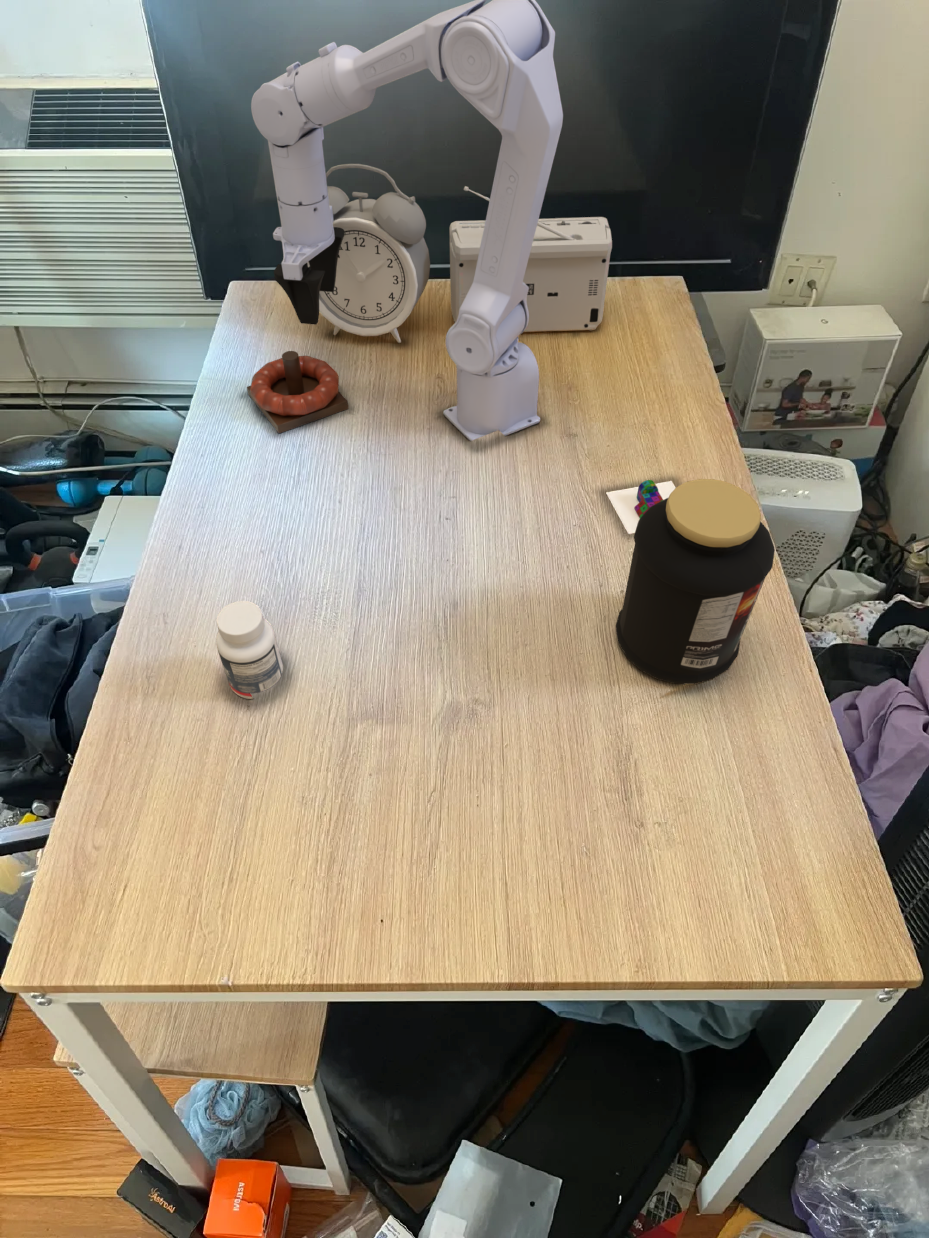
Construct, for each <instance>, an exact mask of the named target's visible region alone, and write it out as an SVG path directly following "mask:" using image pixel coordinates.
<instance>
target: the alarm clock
mask: <svg viewBox="0 0 929 1238" xmlns="http://www.w3.org/2000/svg"><path fill="white" fill-rule="evenodd" d="M342 169H362V170H367V171H371V172H374V173H376V174H377V173H378V174H380V175H381V176H384V177H385V178H386V179H387V181H389V182H390V184H391V185H392V187H393V189H394V191H395V192H393V191H390V192H386V193H383V194H381V196H379V197H378V198H377V199H373V198H369V193H368V192H358V191H352V193H351V195H352V197H353V198H358V199H354V200H352V201H350V197H349V196H348V195H347V194H346V192H345V191H343V189H341V188H339V187H337V186H333V185H332V186H329V185H327V190H328V197H329V206H332V211H333V220H334V221H333V227H339V228H342V229H344V232H345V235H344V238H343V240H342V243H341V246H340V250H339V254H338V260H337V269H336V281H335V287H334V291H333V292H326V291H320V293H319V314H321V316H323V317H324V318H325V319H326V320H327V321H329V323H331V324H332V325H333V326H334V329H333V332H332V333H333V335H334V336H336V335H338V333H339V332H340V330H343V331H345V332H347V333H349V334H353V335H357V336H360V337H378V336H382V335H385V334H389V333H390V334H391V336H392V337H393V338H394V339H395V340H396V342H397V343H398V344H400V343H402V340H401V337H400V334H399V331H398V328H399V327H400V326H402V325H403V324H404V323H405V322H406V320H407V318H408V317H409V316H410V315H411V314H412V312H413V311H414V308H415V307H416V305H417V303H418V302H419V300H420V298H421V296H422V295H423V293H424V291H425V288H426V286H427V284H428V282H429V278H430V271H431V260H430V251H429V248H428V245H427V243H426V240H425V238H424V236H425V233H426V229H427V219H426V217H425V214H424V211H423V210H422V208H421V207H420V205H419V204H418V203H417V202H416V197H415V195H414V196H409V195H406V194H405V193H403V192H402V191H401V190H400V189H399V187H398V186H397V184H396V182H395V180H394V178H392V176H391V175H390V174H389V173H388V172H387V171H385V170H383V169H381V168H378V167H374V166H372V165H367V164H361V163H344V164H338V165H335V166H331V167H330V168H329V169H328V171H327V172H325V173H326V180H327V179H328V177H329V176H330V175H331V174H332V172H334V171H338V170H342ZM307 264H308V267H310V265H309V262H307Z"/></svg>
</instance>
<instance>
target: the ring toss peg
mask: <svg viewBox="0 0 929 1238" xmlns="http://www.w3.org/2000/svg"><path fill="white" fill-rule="evenodd" d="M299 356H300V355H299V353H298V352H297V351H295V350H288V351H285V352H283V353H282V354H281V358H282V360H283V366H284V372H285V377H286V378H283V379H280V380H278V381H276V382H275V383H274V384H273V385H272V386H271V390H272V391H273V392H275V393H278V394H282V395H301V394H303V393H306V392H309V391H312V390H314V389H315V388H316V387H317V386H318V385H319V381H318V380H317V379H316V378H312V377H309V376H306V375H302V374H301V367H300V361H299ZM250 389H251V385H248V386H246V391H247V395H248V396H249V398H250V399H251V401H252V402H253V403H254V404H255V405H256V407H257V408H258V409H259V410H260V411H261V413H262V414H263V415H264V417H265V418H266V419H267V420H268V422H269V423H270V424H271V425H272V427H273V428H274V429H275V431H276V432H277V433H278V434H282V433H285V432H288V431H291V430H293V429H296V428H299V427H301V426H305V425H308V424H310V423H312V422H315V421H318V420H321V419H324V418H327V417H329V416H332V415H335V414H337V413H340V412H343V411H346V410H349V403H348V402H349V401H348V399H347V398H345V396H344V395H343V394H342V392H340V391H339V390H338V393H337V395H336V396H335V397H334V398H333V399H332V400H331V401H330V402H329V403H328V404H327V405H326V406H325V407H324V408H322V409H319V410H316V411H314V412H311V413H309V414H306V415H291V416H282V415H279V414H275V413H272V412H269V411H266V410H264V409H262V408H261V407H260V406H259V405H258V403H257V402H256V401H255V400H254V399H253V398H252V396H251V393H250Z"/></svg>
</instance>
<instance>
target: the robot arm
mask: <svg viewBox="0 0 929 1238" xmlns="http://www.w3.org/2000/svg"><path fill="white" fill-rule="evenodd" d="M486 2H487V0H472V1H470V2H466V3H465V4H461V5H458V6H455V7H452V8H450V9H449V8H448V9H446V10H443V11H441V12H439V13H437V14H435V15H433V16H431V17H429V18H427V19H425V20H423V21H421V22H420V23H417V24H416V25H414V26H412V27H410V28H409V29H406V30H405V31H402V32H401V33H399V34H397V35H395V36H393V37H391V38H389V39H387V40H385V41H384V42H381V43H379V44H378V45H376V46H374V47H372V48H370V49H369V50H366V51H365V52H363V51H361V50H359V49H358V48H357V47H355V46H353V45H350V44H343V45H340V46H338V45H337V43H336V42H335V41H332V42H330V43H328V44H326V45H324V46H323V47H321V48H319V49H318V54H319V56H318V57H316V58H314V59H311V60H309V61H308V62H305V63H303V64H302V65H301V62H299V61H296V62H294V63H292V64H290V65H289V66H286V69H285V71H286V72H285V73H283V74H281V75H279V76H278V77H277V76H276V78H274V79H272V80H270V81H268V82H264V83H262V84H261V85H260V87H259V88H258V89H257V90H256V91H255V92H254V93H253V95H252V97H251V102H250V108H251V109H250V110H251V116H252V120H253V122H254V125H255V126H256V128H257V130H258V132H259V133H260V134H261V136H262V137H264V139H266V140H267V144H268V151H269V157H270V163H271V170H272V176H273V182H274V187H275V194H276V200H277V207H278V213H279V220H280V226H277V227H276V228H275V229H274V231H273V232H272V237H273V240H275V241H279V242H281V246H282V254H283V257H282V258H283V259H282V261H281V263H278V264H277V265H276V266H275V269H274V270H273V276H274V280H275V282H277V284H278V285H279V286H280V287H281V288H282V290H283V291H284V293H285V294H286V295H287V297H288V299H289V300H290V303H291V305H292V307H293V309H294V311H295V314H296V317H297V318H298V321H299V323H300V324H301V325H312V326H313V325H315V326H316V325H318V323H319V318H320V312H319V293H320V291H326V292H333V291H334V287H335V281H336V269H337V260H338V254H339V250H340V246H341V243H342V240H343V238H344V235H345V232H344V229H342V228H339V227H333V221H334V220H333V211H332V206H329V197H328V190H327V186H328V182H327V179H326V173H327V172H326V165H325V155H324V146H323V141H324V140H325V135H324V133H325V132H324V127H326V126H328V125H330V124H333V123H335V122H338V121H340V120H342V119H345V118H347V117H349V116H352V115H354V114H356V113H359V112H361V111H363V110H366V109H368V108H369V107H370V106H371V105H372V103H373V101H374V99H375V96H376V91H377V88H380V87H382V86H385V85H388V84H390V83H393V82H395V81H398V80H399V79H400V80H401V79H403V78H405V77H409V76H411V75H413V74H416V73H418V72H421V71H425V70H428V71H430V72H431V74H432V75H433V76H434V78H435V79H436V80H437V81H438V82H440V83H443V82H445V81H446V80H448V81H449V83H450V84H451V85H452V87H453V88H454V89H455V90H456V92H458V93H459V94H460V95H461V96H462V97H463V98H464V99H465V100H466V101H467V102H468V103H469V104H471V106H472V107H473V108H475V110H476V111H478V112H479V113H480V114H481V115H482V116H483V117H484V118H485V119H486V120H488V121H489V123H491V124H492V125H493V126H494V127H495V128H496V129H497V130H498V131H499V133H500V134H501V143H500V147H499V151H498V152H499V153H498V157H497V161H496V167H495V172H494V176H493V177H494V178H493V182H492V187H491V190H490V191H491V192H490V195H489V196H490V197H489V198H490V201H488V206H487V212H486V216H485V220H486V221H485V226H484V231H483V236H482V241H481V246H480V251H479V255H478V260H477V265H476V270H475V275H474V280H473V283H472V286H471V288H470V290H469V291H468V293H467V295H466V297H465V299H464V301H463V303H462V305H461V307H460V310H459V315H458V319H457V321H456V322H454V323H453V324H452V325H451V326H450V327H449V329H448V330H447V332H446V336H445V348H446V351H447V355H448V357H449V358H450V359H451V361H452V362H453V363H454V364H455V365H456V366H455V367H456V405H454V406H451V407H449V408H445V409H444V410H443V413H442V414H443V416H444V417H445V418H446V419H447V421H449V422H450V423H451V424H452V425H454V427H455V428H456V429H457V430H459V433H461V434H462V435H463V436H464V437H465V438H467V440H468V441H469V442H472V441H475V440H477V439H480V438H482V437H485V436H487V435H490V434H492V433H494V432H500V433H501V434H502V435H503V437H507V436H509V435H511V434H513V433H516V432H519V431H521V430H524V429H526V428H529V427H531V426H534V425H536V424H539V423H540V422H541V417H540V416H539V415H538V403H539V401H538V399H539V386H540V369H539V364H538V361H537V358H536V355H535V354H534V353H533V350H532V349H531V348H530V347H529V345H527V344H525V343H524V342H520V341H519V336H521V335H522V334H523V333H525V332H524V330H525V329H526V327H527V325H528V322H529V311H528V307H527V294H528V290H529V287H528V286H527V285H526V284H525V283H524V282H523V279H524V275H525V271H526V267H527V263H528V259H529V255H530V251H531V247H532V243H533V239H534V235H535V231H536V227H537V223H538V219H540V215H541V210H542V207H543V202H544V199H545V196H546V191H547V187H548V184H549V179H550V175H551V173H552V167H553V164H554V159H555V155H556V152H557V147H558V143H559V140H560V136H561V135H560V134H561V132H562V127H563V120H564V111H563V105H562V100H561V94H560V89H559V82H558V78H557V72H556V66H555V60H554V49H555V41H556V31H555V29H554V28H553V26H552V25H551V23H550V21H549V19H548V18H547V16H546V15H545V13H544V11H543V10H542V8H541V6H540V4H539V3H538V1H537V0H491V1H488V3H486ZM485 3H486V4H485ZM307 262H309V265H310V267H308V264H307Z"/></svg>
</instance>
